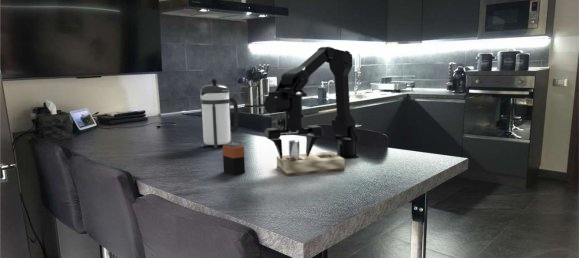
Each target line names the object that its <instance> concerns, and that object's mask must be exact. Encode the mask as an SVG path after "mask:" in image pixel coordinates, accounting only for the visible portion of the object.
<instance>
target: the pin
mask: <svg viewBox="0 0 579 258" xmlns="http://www.w3.org/2000/svg"><path fill="white" fill-rule="evenodd" d="M299 154H300V141H299V139H298V140H297V139H292V140H288V155H289V161H297V160H300V156H299Z"/></svg>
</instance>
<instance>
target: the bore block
mask: <svg viewBox="0 0 579 258" xmlns="http://www.w3.org/2000/svg"><path fill="white" fill-rule="evenodd" d="M299 156H300V160H297V161H289V154H287V155H282V159H280V156H279V155H277V156H276V168H277V169H278V170H279V171H280V172H281V173H282V174H283V175H285V176H286V177H295V176H305V175H313V174H323V173H332V172H333V173H334V172H344V171H345V169H346V168H345V167H346V166H345V162H346V161H345V159H346V158H342V157H340V156H338V155H337V153H334V152H333V151H324V152H323V151H322V152H314V153H313V152H312V153H311V152H310V154H309V156H308V157H307V156H306V153H302V154H301V153H299Z"/></svg>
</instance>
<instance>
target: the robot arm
mask: <svg viewBox="0 0 579 258" xmlns="http://www.w3.org/2000/svg"><path fill="white" fill-rule="evenodd" d="M325 63H327V64H328V66H329V70H330V72H331V73H332V74H333V76H334V91H335V93H334V94H335V105H336V107H335V109H336V115H335V117H334V119H331V131H332V133H333V136H334V139H335V141H338V144H337V146H336V147H337V149H336V150H337V151H336V152H337V153H336V155H338V156H340V157H342V158H344V159H350V158H359V155H358V153H357V151H358V148H357V147H358V143H359V142H360V141H361V138H362V134H361V133H360V132H359V131H358V129H357V127H356V121H355V119H354V118H353V116H352V114H351V106H350V105H351V103H350V87H349V86H350V85H349V83H350V82H349V74H350V72H351V71H352V67H353V54H352V53H351V52H350V51H349V50H341V49H338V48H334V47H331V46H320V47H319V48H317V50H316V51H315V52H314V53H313V54H312V55H310V56H309V58H307V59H306V60H305V61H303V62H302V63H301V64H300V65H299V66H297V67H294V68H292V69H290V70H288V71H285V72H284V73H283V74H282V75H281V76H280V78H281V79H280V81H279V83H278V85H277V86H276V89H274V90H275V91H268V92H267V96H266V97H265V98H264V101H263V105H264V106H263V107H264V109H265V111H266V113H267V114H270V115H272V114H278V113H279V114H280V113H283V118H282V116H276V117H275V127H270V128H269V127H268V128H267V127H266V129H264V137H265V138H266V139H268V140H270V141H271V142H273V144H274V146H275V148H276V150H277V153H278V156H280V159H282V156H283V143H282V142H283V141H282V138H280V137H281V136H293V135H305V139H306V146H305V154H306V156H307V157H308V156H309V154H310V153H311V152H312V149H313V147H314V145H315V143H316V141H317V139H320V136H324V129H323V127H322V126H320V125H318V124H317V125H316V124H313V125H307V126H306V127H304V126H303V118H304V114H303V97H307V93H306V92H305V91H304V90H303V89H304V88H305V86H306V85H308V82H309V79H310V77H311V76H312V75H313V74H314V73H315V72H316V71H317V70H318V69H319V68H320V67H322V66H323V65H324V64H325ZM279 128H280V129H279Z"/></svg>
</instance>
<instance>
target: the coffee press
mask: <svg viewBox="0 0 579 258" xmlns="http://www.w3.org/2000/svg"><path fill="white" fill-rule="evenodd" d="M217 82H218V80H217V79H216V78H212V80H211V83H212V84H206V85H203V86H201V88H200V90H199V93H200V95H199V96H200V108H201V109H200V110H201V112H200V113H201V128H202V129H201V130H202V142H201V143H200V147H204V145H209V146H213V149H214V150H218V146H220V145H222V146H223V145H227V144H228V143H229V142H232V144H233V143H235V142H234V141H233V139H232V133H235V132H236V131H237V130H238V127H239V121H240V120H239V107H238V102H237V100H236V99H235V98H233V97H230V92H231V91H230V89H229V87H228V86H227V85H226V84H217ZM231 103H232V106H233V115H234V116H233V118H234V120H233V121H234V124H233V127H232V126H231V123H232V120H231V119H232V118H231ZM202 143H204V145H202Z"/></svg>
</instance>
